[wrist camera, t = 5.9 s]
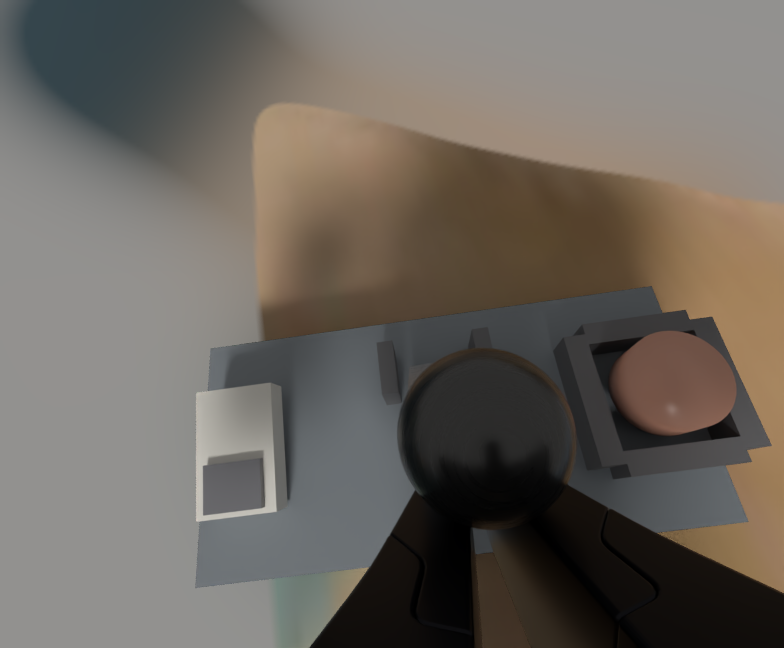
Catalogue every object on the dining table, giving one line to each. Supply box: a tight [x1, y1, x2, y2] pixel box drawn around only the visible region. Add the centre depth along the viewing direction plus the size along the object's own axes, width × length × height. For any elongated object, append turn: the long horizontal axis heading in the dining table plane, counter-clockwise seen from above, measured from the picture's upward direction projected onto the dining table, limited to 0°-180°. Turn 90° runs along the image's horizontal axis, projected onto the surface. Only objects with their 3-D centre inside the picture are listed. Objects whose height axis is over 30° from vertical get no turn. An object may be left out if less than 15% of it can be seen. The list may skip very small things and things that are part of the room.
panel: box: [196, 286, 772, 588], centre depth 17 cm, size 9×20×5 cm, turn 97°
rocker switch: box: [196, 383, 288, 522], centre depth 15 cm, size 4×3×2 cm, turn 7°
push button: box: [608, 331, 737, 436], centre depth 14 cm, size 3×3×2 cm
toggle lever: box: [397, 348, 577, 530], centre depth 10 cm, size 2×2×12 cm
